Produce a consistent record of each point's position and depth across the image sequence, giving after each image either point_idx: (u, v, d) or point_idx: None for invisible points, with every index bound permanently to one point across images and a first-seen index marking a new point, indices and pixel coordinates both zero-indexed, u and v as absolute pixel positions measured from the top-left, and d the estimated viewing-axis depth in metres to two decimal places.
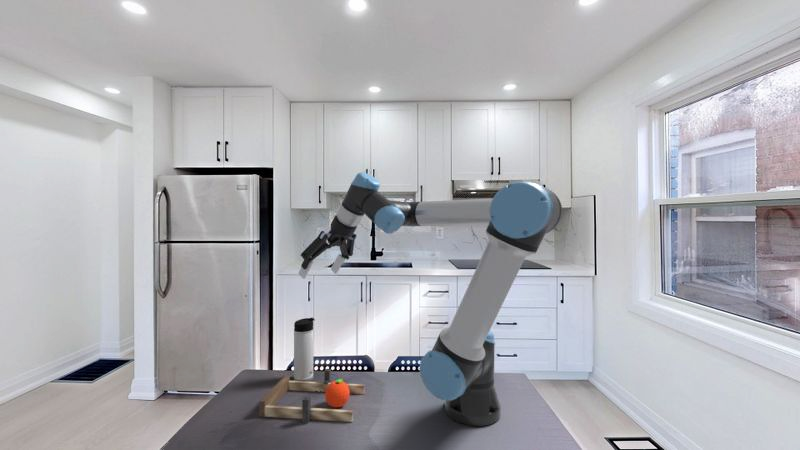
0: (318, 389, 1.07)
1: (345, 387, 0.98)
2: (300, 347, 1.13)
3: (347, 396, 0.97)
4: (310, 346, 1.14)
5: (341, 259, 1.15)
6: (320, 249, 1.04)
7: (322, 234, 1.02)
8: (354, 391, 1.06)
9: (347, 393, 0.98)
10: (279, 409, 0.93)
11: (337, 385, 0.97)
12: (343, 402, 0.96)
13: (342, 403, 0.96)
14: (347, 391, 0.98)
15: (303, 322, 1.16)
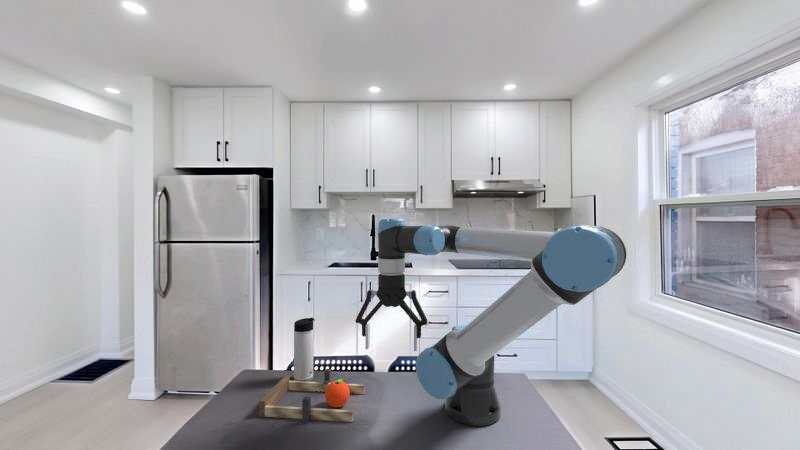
0: (318, 389, 1.07)
1: (345, 387, 0.98)
2: (300, 347, 1.13)
3: (347, 396, 0.97)
4: (310, 346, 1.14)
5: (414, 329, 0.96)
6: (372, 310, 0.98)
7: None
8: (354, 391, 1.06)
9: (347, 393, 0.98)
10: (279, 409, 0.93)
11: (337, 385, 0.97)
12: (343, 402, 0.96)
13: (342, 403, 0.96)
14: (347, 391, 0.98)
15: (303, 322, 1.16)
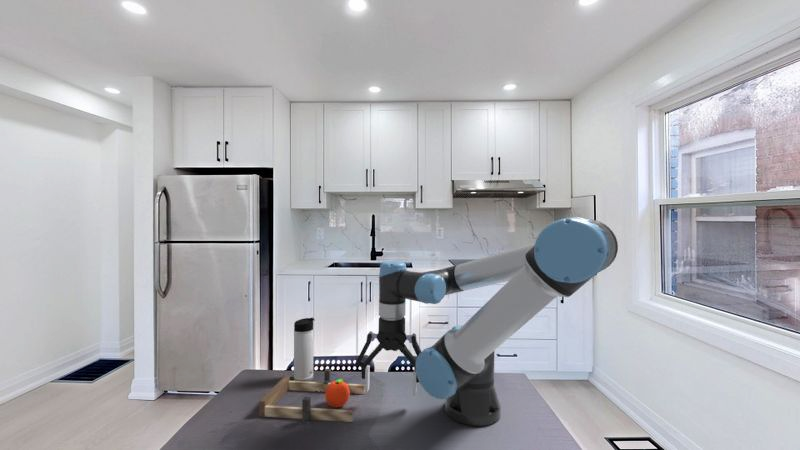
0: (318, 389, 1.07)
1: (345, 387, 0.98)
2: (300, 347, 1.13)
3: (347, 396, 0.97)
4: (310, 346, 1.14)
5: None
6: (372, 353, 0.98)
7: (368, 334, 0.99)
8: (354, 391, 1.06)
9: (347, 393, 0.98)
10: (279, 409, 0.93)
11: (337, 385, 0.97)
12: (343, 402, 0.96)
13: (342, 403, 0.96)
14: (347, 391, 0.98)
15: (303, 322, 1.16)
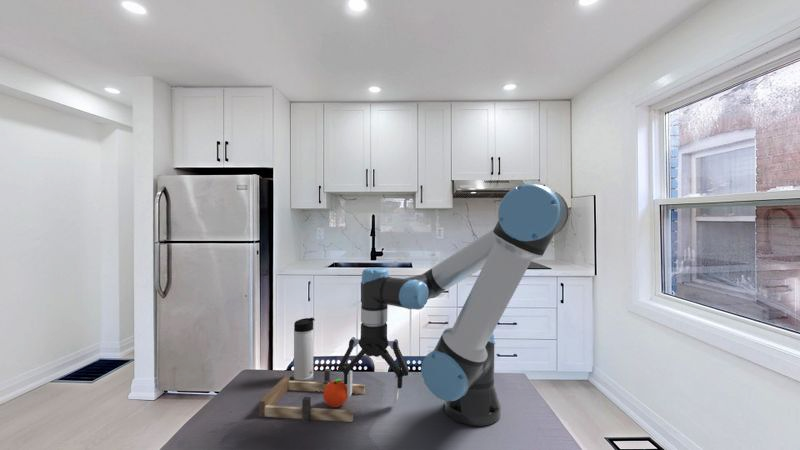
0: (318, 389, 1.07)
1: (343, 387, 0.98)
2: (300, 347, 1.13)
3: (345, 396, 0.97)
4: (310, 346, 1.14)
5: (395, 379, 0.97)
6: (354, 358, 0.98)
7: None
8: (354, 391, 1.06)
9: (345, 393, 0.98)
10: (279, 409, 0.93)
11: (335, 385, 0.97)
12: (341, 402, 0.96)
13: (340, 403, 0.96)
14: (345, 391, 0.98)
15: (303, 322, 1.16)
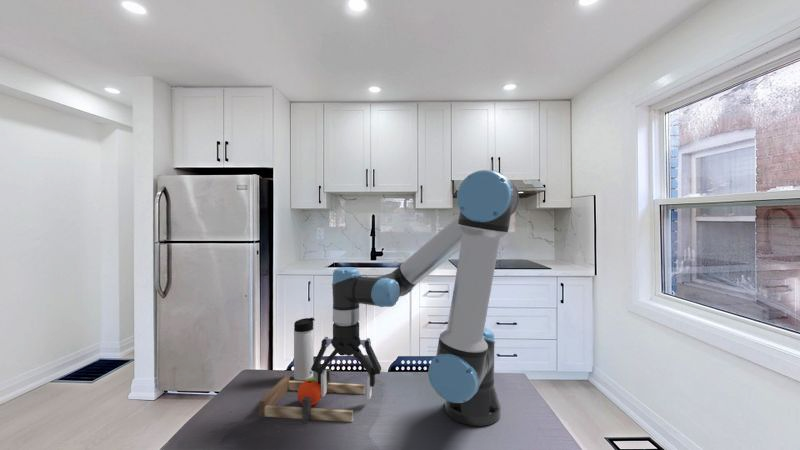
0: None
1: (317, 386, 0.99)
2: (300, 347, 1.13)
3: (319, 394, 0.98)
4: (310, 346, 1.14)
5: None
6: (327, 358, 0.99)
7: None
8: (354, 391, 1.06)
9: (319, 391, 0.98)
10: (279, 409, 0.93)
11: (309, 384, 0.98)
12: (315, 400, 0.97)
13: (314, 401, 0.97)
14: (319, 389, 0.99)
15: (303, 322, 1.16)
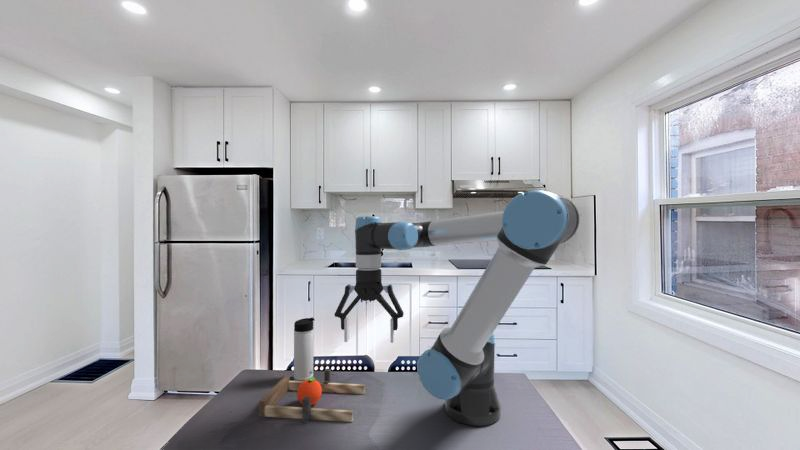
0: None
1: (317, 385, 0.99)
2: (300, 347, 1.13)
3: (319, 394, 0.98)
4: (310, 346, 1.14)
5: None
6: (350, 304, 1.02)
7: None
8: (354, 391, 1.06)
9: (319, 391, 0.99)
10: (279, 409, 0.93)
11: (309, 383, 0.98)
12: (315, 400, 0.97)
13: (314, 401, 0.97)
14: (319, 389, 0.99)
15: (303, 322, 1.16)
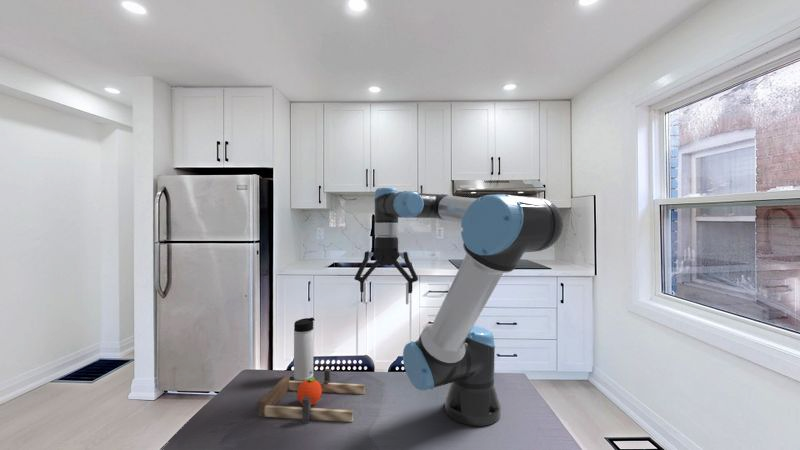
0: None
1: (317, 385, 0.99)
2: (300, 347, 1.13)
3: (319, 394, 0.98)
4: (310, 346, 1.14)
5: (406, 285, 1.09)
6: (369, 269, 1.11)
7: None
8: (354, 391, 1.06)
9: (319, 391, 0.99)
10: (279, 409, 0.93)
11: (309, 383, 0.98)
12: (315, 400, 0.97)
13: (314, 401, 0.97)
14: (319, 389, 0.99)
15: (303, 322, 1.16)
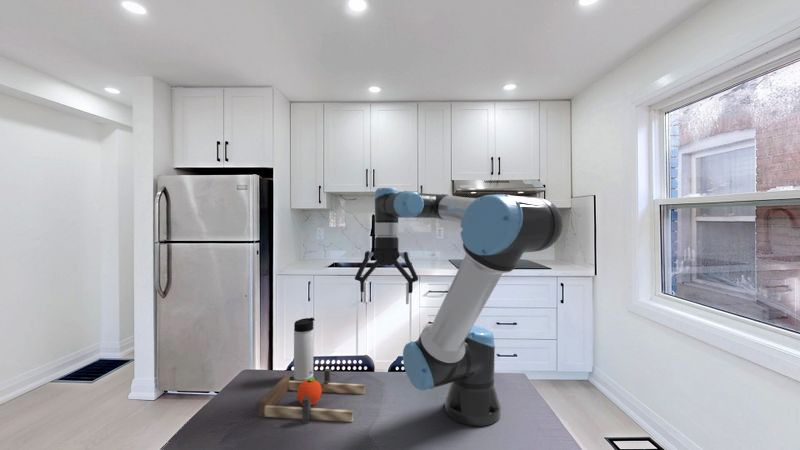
0: None
1: (317, 385, 0.99)
2: (300, 347, 1.13)
3: (319, 394, 0.98)
4: (310, 346, 1.14)
5: (406, 285, 1.10)
6: None
7: None
8: (354, 391, 1.06)
9: (319, 391, 0.99)
10: (279, 409, 0.93)
11: (309, 383, 0.98)
12: (315, 400, 0.97)
13: (314, 401, 0.97)
14: (319, 389, 0.99)
15: (303, 322, 1.16)
